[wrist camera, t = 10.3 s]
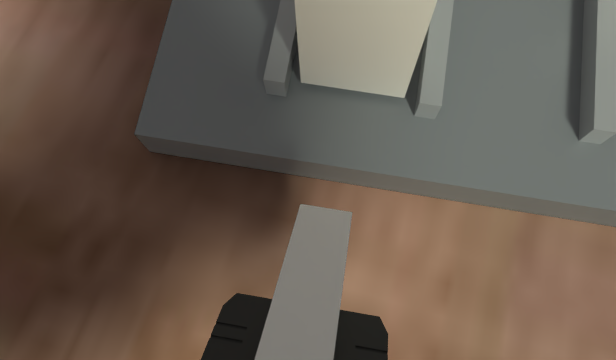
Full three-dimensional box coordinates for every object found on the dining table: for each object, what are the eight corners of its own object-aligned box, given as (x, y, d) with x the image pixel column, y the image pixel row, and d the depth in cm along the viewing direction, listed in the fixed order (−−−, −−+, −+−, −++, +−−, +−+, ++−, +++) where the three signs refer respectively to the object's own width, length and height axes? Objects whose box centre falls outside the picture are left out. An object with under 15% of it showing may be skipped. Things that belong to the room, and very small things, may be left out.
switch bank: (817, -75, 25) (885, -133, 22) (853, 265, 21) (944, 251, 18) (230, -146, 27) (219, -207, 24) (149, 151, 23) (123, 122, 20)
